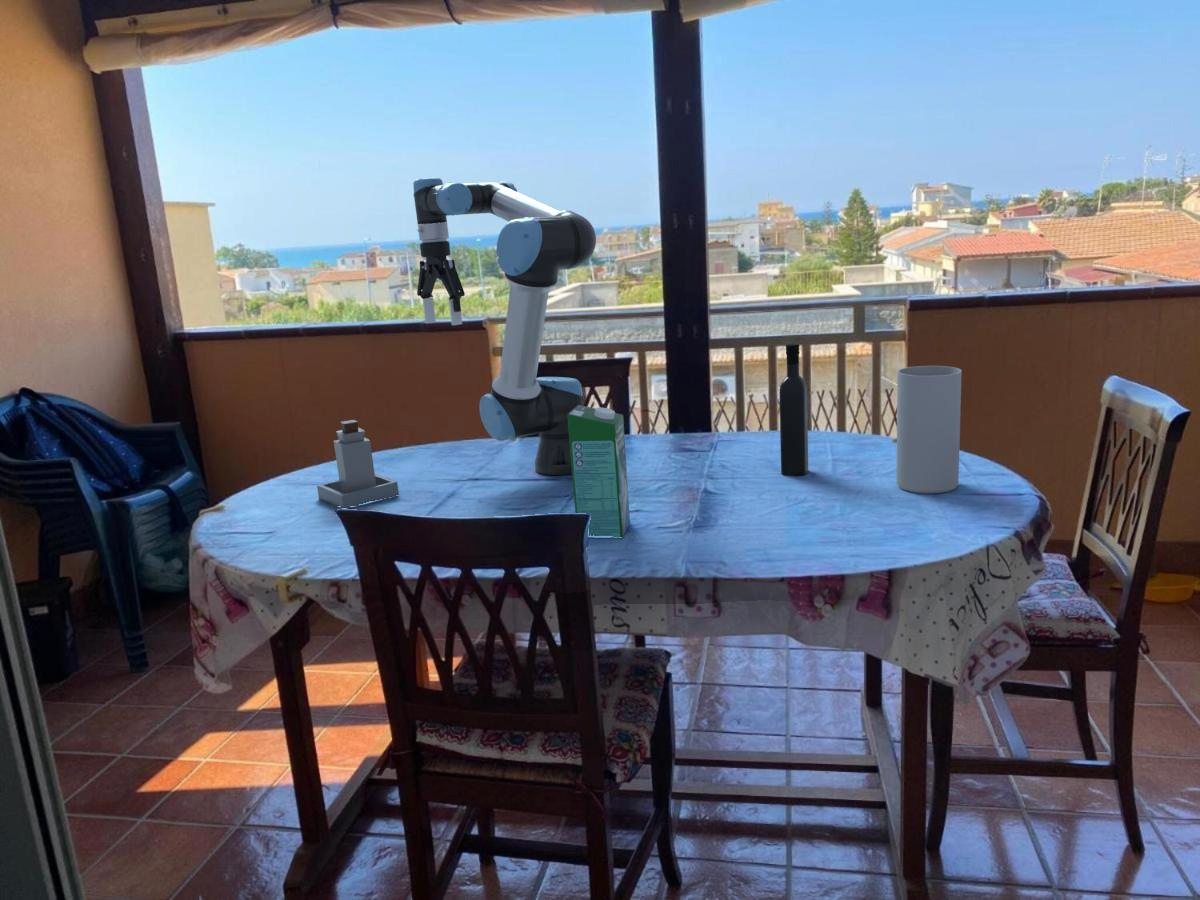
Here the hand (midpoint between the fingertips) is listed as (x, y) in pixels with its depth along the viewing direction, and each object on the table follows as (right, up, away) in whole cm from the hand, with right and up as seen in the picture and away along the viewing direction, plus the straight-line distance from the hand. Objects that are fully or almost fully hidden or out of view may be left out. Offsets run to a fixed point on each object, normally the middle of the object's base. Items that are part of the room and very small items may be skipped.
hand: (443, 323), depth 237 cm
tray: (-17, -45, -22) cm, 52 cm away
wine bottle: (+87, -39, -27) cm, 98 cm away
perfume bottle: (-16, -44, -22) cm, 52 cm away
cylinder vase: (+111, -41, -44) cm, 126 cm away
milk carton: (+42, -50, -57) cm, 86 cm away
